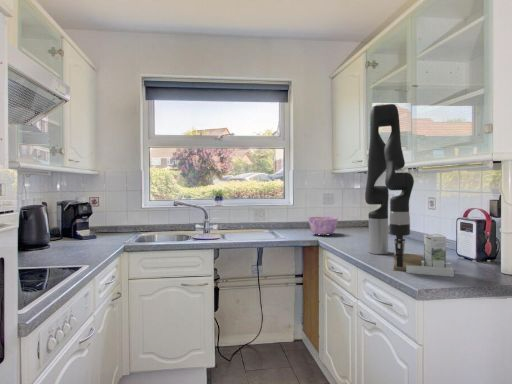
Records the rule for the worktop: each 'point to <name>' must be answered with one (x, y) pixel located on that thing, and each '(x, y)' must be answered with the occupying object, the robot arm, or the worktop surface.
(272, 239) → the worktop surface
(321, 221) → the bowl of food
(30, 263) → the worktop surface
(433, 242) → the syrup box
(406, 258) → the block
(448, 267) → the channel
